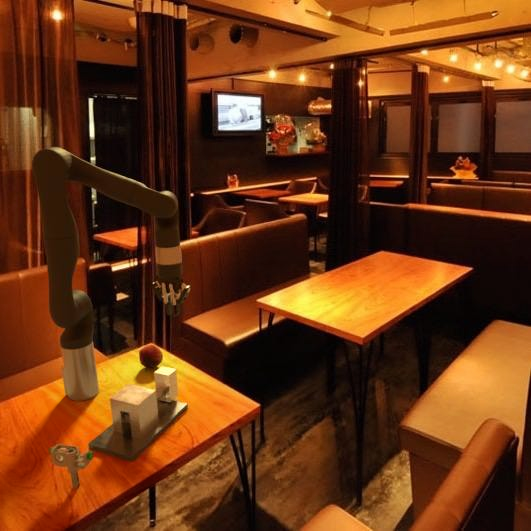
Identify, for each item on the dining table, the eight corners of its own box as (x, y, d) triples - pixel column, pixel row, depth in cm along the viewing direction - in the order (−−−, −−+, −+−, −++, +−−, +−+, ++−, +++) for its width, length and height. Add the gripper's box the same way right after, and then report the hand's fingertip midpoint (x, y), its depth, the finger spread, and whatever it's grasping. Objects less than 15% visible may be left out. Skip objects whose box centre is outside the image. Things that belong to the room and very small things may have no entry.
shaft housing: (88, 448, 130) (83, 410, 127) (148, 398, 153) (145, 364, 150) (132, 462, 125) (128, 422, 121) (187, 408, 148) (185, 373, 144)
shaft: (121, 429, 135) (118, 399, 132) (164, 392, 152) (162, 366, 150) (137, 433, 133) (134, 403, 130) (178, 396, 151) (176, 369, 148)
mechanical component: (92, 493, 115) (87, 456, 112) (52, 487, 116) (46, 451, 114) (99, 484, 117) (94, 448, 114) (60, 479, 119) (54, 443, 116)
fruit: (165, 362, 176) (163, 341, 174) (161, 372, 168) (159, 351, 166) (143, 362, 176) (141, 341, 174) (137, 373, 168) (135, 351, 166)
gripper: (142, 261, 146) (147, 316, 151) (182, 265, 141) (185, 322, 146) (157, 254, 153) (161, 307, 158) (195, 258, 148) (198, 313, 153)
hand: (173, 314), depth 152 cm, fingers closed
